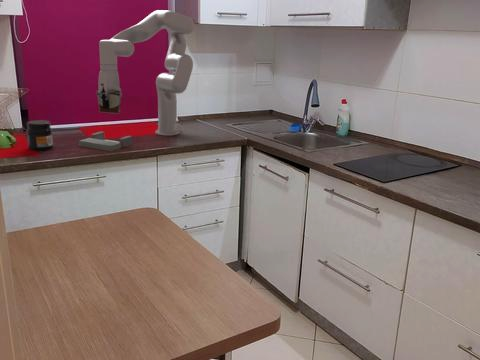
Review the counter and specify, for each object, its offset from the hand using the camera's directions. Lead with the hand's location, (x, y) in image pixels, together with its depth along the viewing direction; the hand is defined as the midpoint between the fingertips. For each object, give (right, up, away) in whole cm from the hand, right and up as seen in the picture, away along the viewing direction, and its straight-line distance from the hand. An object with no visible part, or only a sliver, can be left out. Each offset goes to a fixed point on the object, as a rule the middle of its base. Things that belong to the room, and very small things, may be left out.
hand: (110, 107), depth 223 cm
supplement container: (-29, -20, -8) cm, 36 cm away
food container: (0, -2, +1) cm, 3 cm away
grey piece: (-3, -18, +1) cm, 18 cm away
